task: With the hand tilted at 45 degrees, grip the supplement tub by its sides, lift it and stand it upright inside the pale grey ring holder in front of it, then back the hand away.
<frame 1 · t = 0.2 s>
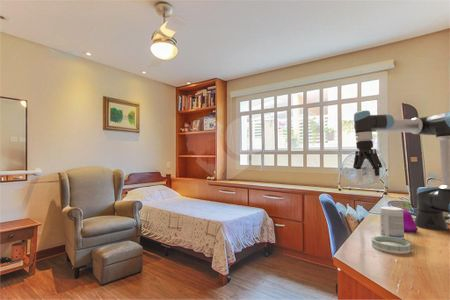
hand: (368, 181, 127), 27 cm above the table, tool pointing down, fingers open, 13 cm apart
magenta faceted rounded piece: (404, 230, 137), on the table
supplement tub: (392, 238, 123), on the table
ring holder: (390, 247, 109), on the table
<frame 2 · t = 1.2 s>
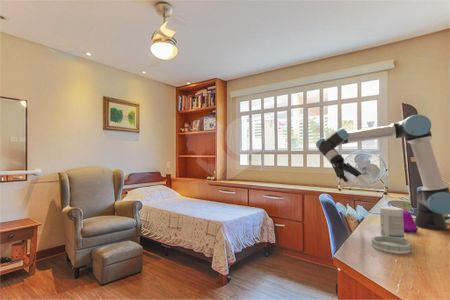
hand: (359, 185, 137), 25 cm above the table, tool tilted 45°, fingers open, 13 cm apart
nothing on the table moved.
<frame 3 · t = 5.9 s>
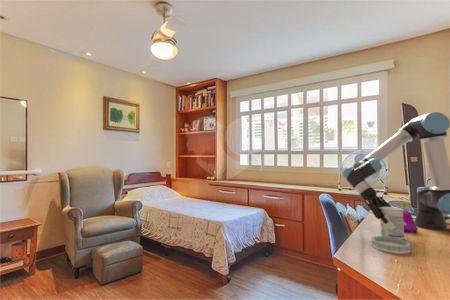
hand: (398, 227, 121), 6 cm above the table, tool tilted 45°, fingers closed on supplement tub, 9 cm apart
supplement tub: (392, 238, 123), on the table, touching gripper
everything else where it was.
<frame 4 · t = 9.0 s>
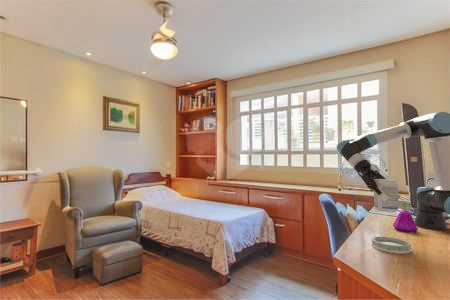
hand: (392, 199, 114), 21 cm above the table, tool tilted 45°, fingers closed on supplement tub, 9 cm apart
supplement tub: (385, 211, 117), point 15 cm above the table, touching gripper
everything else where it was.
when the fingers open (8 cm above the table, at t = 12.4 s): supplement tub drops 1 cm, resting on ring holder.
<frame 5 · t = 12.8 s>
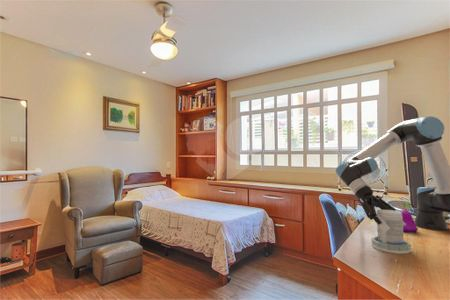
hand: (395, 228, 107), 9 cm above the table, tool tilted 45°, fingers open, 13 cm apart
supplement tub: (390, 245, 109), point 1 cm above the table, touching ring holder
everything else where it was.
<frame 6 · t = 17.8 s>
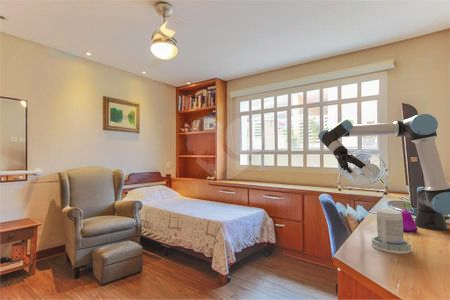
hand: (364, 176, 132), 30 cm above the table, tool tilted 45°, fingers open, 13 cm apart
nothing on the table moved.
at the end: supplement tub 0.1 cm off-centre on the ring holder, point 1.0 cm above the ring holder's base; supplement tub tilted 0°; the gripper is holding nothing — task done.
